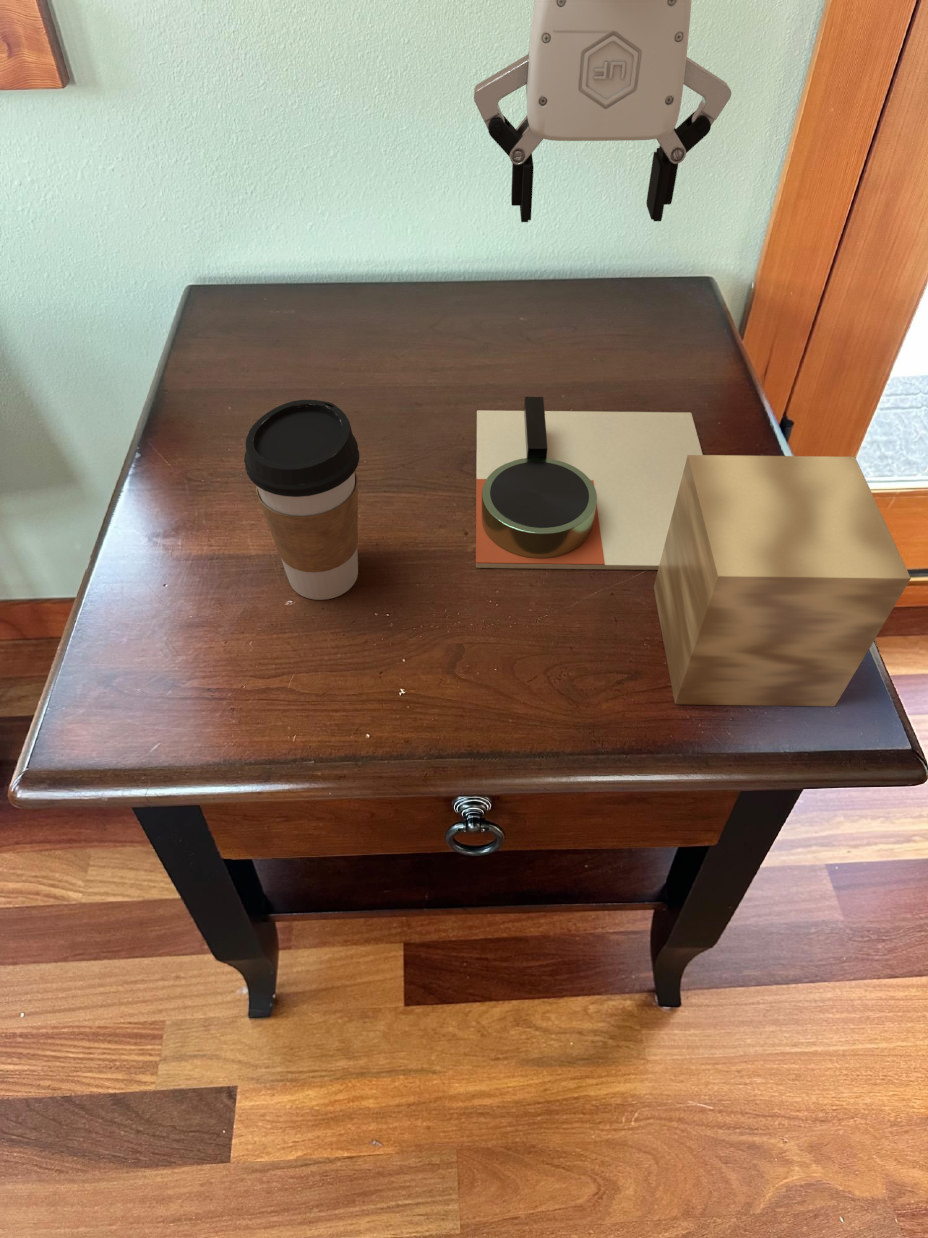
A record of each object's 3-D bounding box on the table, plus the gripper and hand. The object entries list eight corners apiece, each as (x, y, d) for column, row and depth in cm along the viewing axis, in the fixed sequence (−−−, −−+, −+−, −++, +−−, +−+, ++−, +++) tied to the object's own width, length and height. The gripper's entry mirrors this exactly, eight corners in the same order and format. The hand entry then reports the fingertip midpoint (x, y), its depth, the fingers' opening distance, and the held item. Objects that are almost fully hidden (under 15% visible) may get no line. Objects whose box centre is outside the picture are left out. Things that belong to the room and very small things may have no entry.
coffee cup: (392, 563, 72) (379, 419, 61) (331, 626, 67) (305, 483, 56) (316, 527, 75) (290, 383, 64) (253, 585, 70) (212, 441, 59)
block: (795, 588, 70) (855, 456, 60) (835, 706, 62) (911, 578, 52) (653, 587, 70) (687, 454, 60) (674, 704, 63) (718, 576, 52)
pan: (481, 429, 83) (482, 395, 80) (581, 430, 83) (586, 396, 80) (481, 558, 72) (482, 523, 69) (597, 559, 72) (603, 525, 68)
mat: (690, 417, 86) (691, 411, 85) (731, 571, 72) (733, 565, 71) (476, 414, 86) (476, 409, 86) (475, 568, 72) (475, 562, 71)
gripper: (473, -66, 47) (473, 237, 60) (780, -69, 47) (714, 235, 60) (473, -91, 52) (473, 194, 65) (750, -94, 52) (695, 192, 65)
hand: (589, 213), depth 63 cm, fingers open, 9 cm apart
